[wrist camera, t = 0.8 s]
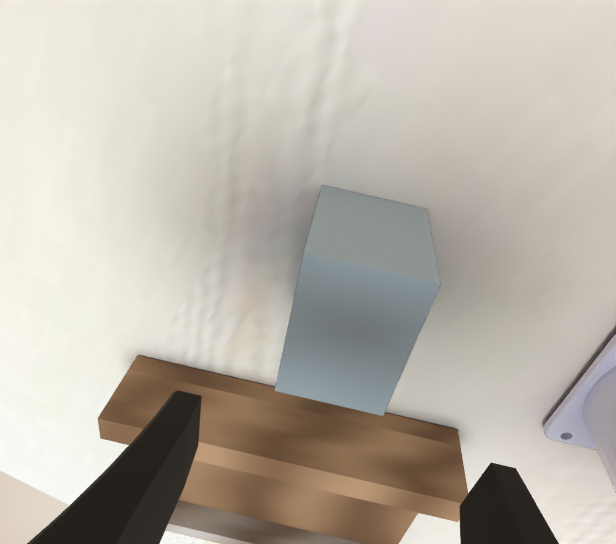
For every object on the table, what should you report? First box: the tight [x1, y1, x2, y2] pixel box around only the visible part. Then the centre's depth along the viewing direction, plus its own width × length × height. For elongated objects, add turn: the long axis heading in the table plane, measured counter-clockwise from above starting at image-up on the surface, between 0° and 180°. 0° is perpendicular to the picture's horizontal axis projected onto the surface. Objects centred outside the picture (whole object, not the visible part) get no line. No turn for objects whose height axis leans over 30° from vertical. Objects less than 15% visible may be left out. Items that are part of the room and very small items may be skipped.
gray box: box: [275, 185, 441, 416], centre depth 17 cm, size 4×6×5 cm, turn 170°
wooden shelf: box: [98, 355, 468, 544], centre depth 25 cm, size 17×13×4 cm
